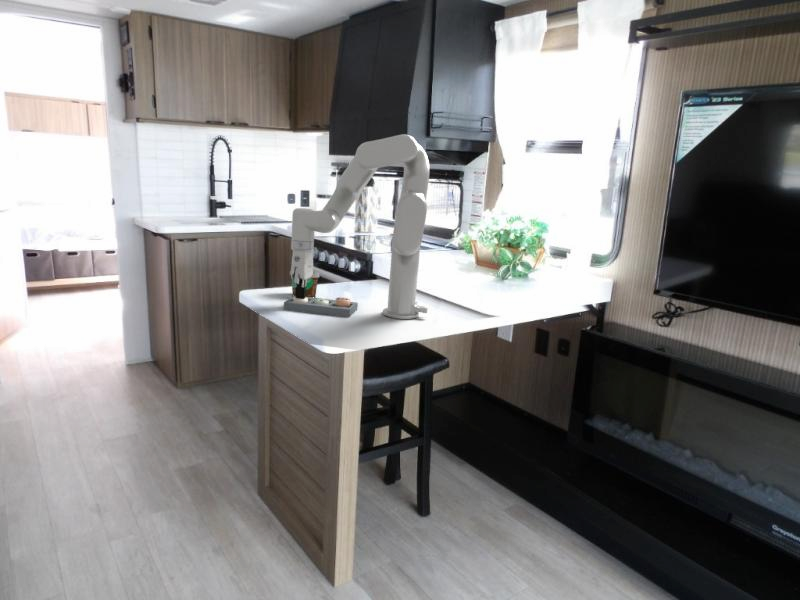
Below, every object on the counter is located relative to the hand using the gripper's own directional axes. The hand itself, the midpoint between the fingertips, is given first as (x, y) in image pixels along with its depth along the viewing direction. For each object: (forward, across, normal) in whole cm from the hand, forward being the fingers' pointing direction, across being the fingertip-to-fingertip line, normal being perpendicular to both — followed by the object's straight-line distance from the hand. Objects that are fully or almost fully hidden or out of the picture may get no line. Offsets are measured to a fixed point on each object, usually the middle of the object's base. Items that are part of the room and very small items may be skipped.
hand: (300, 297), depth 195 cm
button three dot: (+2, 0, -15) cm, 15 cm away
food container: (+4, +16, +5) cm, 17 cm away
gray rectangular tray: (+3, 0, -8) cm, 8 cm away
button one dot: (+3, 0, -8) cm, 8 cm away
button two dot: (+3, 0, 0) cm, 3 cm away
